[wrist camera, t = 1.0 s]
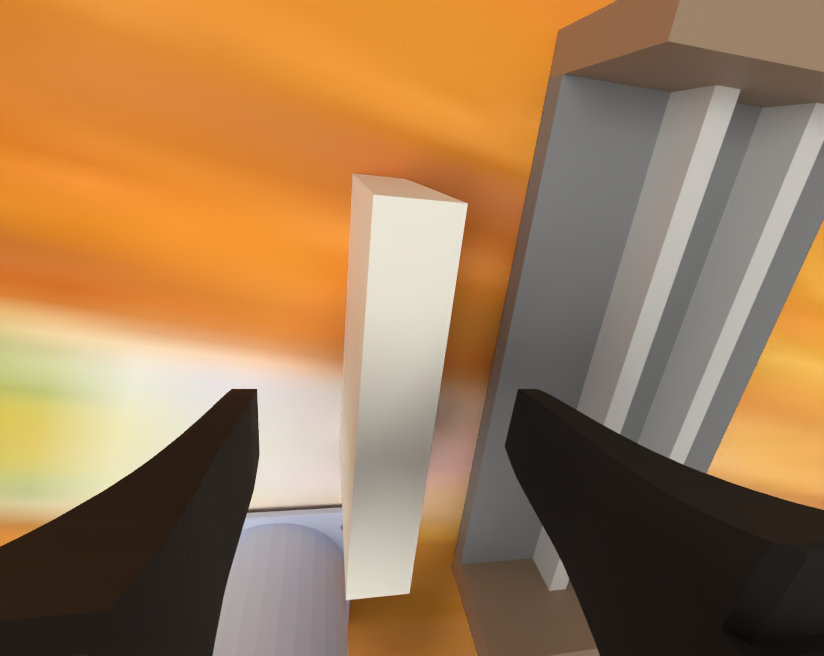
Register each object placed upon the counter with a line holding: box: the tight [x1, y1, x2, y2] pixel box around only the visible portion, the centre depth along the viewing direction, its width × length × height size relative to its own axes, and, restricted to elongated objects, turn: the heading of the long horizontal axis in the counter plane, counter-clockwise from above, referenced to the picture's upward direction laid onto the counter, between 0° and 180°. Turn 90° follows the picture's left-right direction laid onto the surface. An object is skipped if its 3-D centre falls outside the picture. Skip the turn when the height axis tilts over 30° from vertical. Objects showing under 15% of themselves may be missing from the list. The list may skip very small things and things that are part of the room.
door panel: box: [340, 173, 468, 600], centre depth 15 cm, size 12×2×8 cm, turn 174°
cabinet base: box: [452, 0, 824, 656], centre depth 19 cm, size 27×14×6 cm, turn 174°
